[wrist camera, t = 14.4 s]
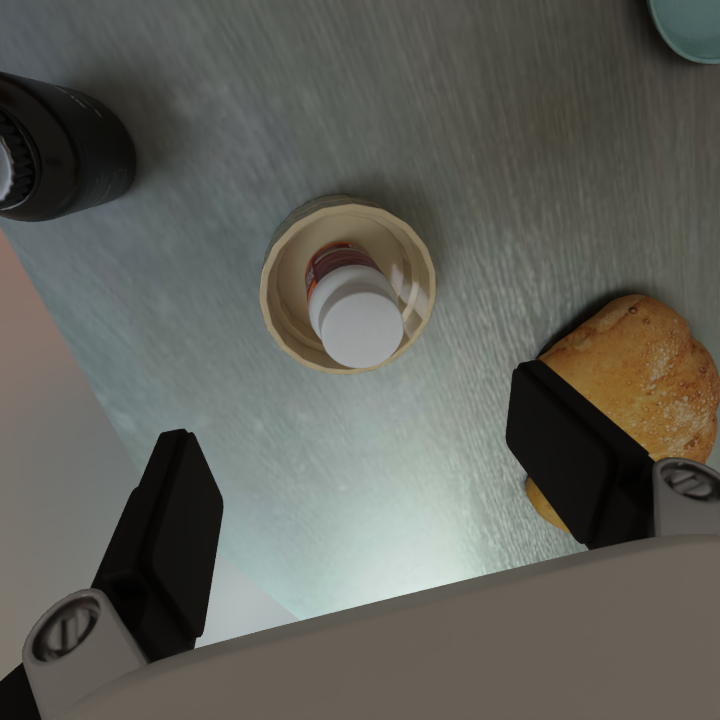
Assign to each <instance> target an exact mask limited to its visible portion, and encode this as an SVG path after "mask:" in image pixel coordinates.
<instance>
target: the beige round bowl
mask: <svg viewBox="0 0 720 720" xmlns="http://www.w3.org/2000/svg"><path fill="white" fill-rule="evenodd" d="M337 241H346V242H351V243H354V244H356V245H359V246H360V247H362V248H363V249H364V250H366V251H367V252H368V253H369V255H370V256H371V257H372V259H373V260H374V261H375V263H376V264H377V266H378V267H379V269H380V270H381V271H382V273H383V274H384V275H385V277H386V278H387V279H388V280H389V281H390V283H391V285H392V286H393V288H394V290H395V293H396V296H397V300H398V309H399V310H400V312H401V315H402V318H403V324H404V331H403V336H402V340H401V342H400V344H399V346H398V348H397V349H396V351H395V352H394V353H393V354H392V355H391V356H390V357H389V358H388V359H386V360H385V361H383V362H382V363H380V364H378V365H375V366H372V367H367V368H351V367H347V366H344V365H342V364H340V363H338V362H337V361H335V360H334V359H333V358H332V357H331V356H330V355H329V354H328V353H327V351H326V350H325V348H324V346H323V343H322V340H321V339H320V338H319V337H318V336H317V334H316V333H315V331H314V329H313V327H312V324H311V321H310V317H309V310H308V304H307V296H306V287H305V270H306V267H307V264H308V262H309V260H310V258H311V257H312V255H313V254H314V253H315V252H316V251H317V250H318V249H319V248H321V247H322V246H324V245H326V244H329V243H332V242H337ZM435 298H436V280H435V269H434V266H433V263H432V260H431V258H430V255H429V252H428V249H427V246H426V245H425V244H424V242H423V241H422V240H421V239H420V238H419V236H418V235H417V234H416V233H415V231H414V230H413V229H412V228H411V227H410V225H409V224H407V223H406V222H405V221H403V220H402V219H400V218H399V217H397V216H396V215H394V214H393V213H391V212H390V211H388V210H387V209H385V208H383V207H382V206H380V205H378V204H376V203H375V202H373V201H371V200H369V199H366V198H361V197H356V196H350V195H345V194H344V195H343V194H341V195H334V196H328V197H321V198H317V199H314V200H313V201H311V202H309V203H307V204H305V205H303V206H301V207H299V208H298V209H296V210H294V211H293V212H292V213H291V214H290V215H289V216H288V217H287V218H286V219H285V220H284V221H283V223H282V224H281V225H280V226H279V227H278V228H277V229H276V231H275V233H274V235H273V237H272V239H271V242H270V244H269V246H268V249H267V251H266V254H265V258H264V263H263V268H262V272H261V283H260V297H259V302H260V306H261V309H262V313H263V317H264V321H265V324H266V327H267V329H268V330H269V332H270V333H271V335H272V336H273V338H274V339H275V341H276V342H277V344H278V345H279V347H280V348H281V349H282V350H284V351H285V352H286V353H287V354H289V355H290V356H291V357H293V358H294V359H295V360H296V361H298V362H299V363H300V364H302V365H305V366H307V367H310V368H313V369H315V370H318V371H321V372H323V373H332V374H344V375H351V374H356V373H362V372H367V371H372V370H375V369H377V368H379V367H381V366H383V365H385V364H387V363H389V362H391V361H394V360H395V359H397V358H398V357H399V356H400V355H401V354H403V353H404V352H405V351H406V350H407V349H408V348H409V347H411V346H412V345H413V344H414V343H415V342H416V340H417V339H418V337H419V336H420V334H421V332H422V331H423V329H424V328H425V326H426V325H427V323H428V321H429V318H430V315H431V312H432V308H433V305H434V302H435Z"/></svg>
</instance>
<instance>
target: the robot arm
mask: <svg viewBox="0 0 720 720" xmlns="http://www.w3.org/2000/svg"><path fill="white" fill-rule="evenodd" d="M506 443H507V445H508V447H509V449H510V450H511V452H512V453H513V454H514V456H515V457H516V459H517V460H518V461H519V463H520V464H521V465H522V467H523V468H524V470H525V471H526V472H527V474H528V475H529V476H530V478H531V479H532V481H533V482H534V483H535V485H536V486H537V487H538V489H539V490H540V491H541V493H542V494H543V496H544V497H545V498H546V500H547V501H548V502H549V504H550V505H551V507H552V508H553V509H554V511H555V512H556V513H557V515H558V516H559V518H560V519H561V520H562V522H563V523H564V524H565V526H566V527H567V528H568V530H569V531H570V533H571V534H572V535H573V537H574V538H575V539H576V540H577V541H578V542H579V543H581V544H585V545H586V547H587V548H588V549H589V551H585V552H580V553H576V554H571V555H567V556H563V557H559V558H555V559H551V560H546V561H542V562H538V563H534V564H530V565H526V566H521V567H517V568H513V569H509V570H505V571H500V572H496V573H492V574H488V575H484V576H480V577H476V578H472V579H467V580H463V581H459V582H455V583H451V584H447V585H443V586H439V587H435V588H431V589H427V590H423V591H418V592H414V593H410V594H406V595H402V596H398V597H394V598H390V599H386V600H382V601H378V602H374V603H370V604H366V605H362V606H358V607H354V608H350V609H346V610H342V611H338V612H334V613H330V614H326V615H322V616H318V617H314V618H310V619H306V620H302V621H298V622H294V623H290V624H286V625H282V626H278V627H274V628H271V629H267V630H262V631H259V632H255V633H251V634H248V635H244V636H240V637H236V638H233V639H229V640H226V641H222V642H218V643H214V644H211V645H207V646H203V647H200V648H196V649H194V647H195V642H196V638H198V637H201V636H202V634H203V631H204V626H205V621H206V614H207V608H208V602H209V595H210V590H211V583H212V577H213V571H214V565H215V558H216V552H217V546H218V540H219V534H220V527H221V521H222V515H223V499H222V495H221V493H220V491H219V489H218V486H217V484H216V482H215V480H214V477H213V475H212V473H211V471H210V468H209V466H208V464H207V461H206V459H205V457H204V455H203V452H202V450H201V448H200V446H199V443H198V441H197V439H196V436H195V435H194V433H193V432H190V433H188V432H187V431H186V430H185V429H178V430H172V431H167V432H163V433H161V434H160V436H159V438H158V440H157V443H156V445H155V447H154V450H153V452H152V455H151V457H150V459H149V462H148V464H147V467H146V469H145V471H144V474H143V476H142V479H141V481H140V483H139V486H138V487H136V488H135V489H134V490H133V491H132V493H131V495H130V497H129V499H128V501H127V504H126V506H125V508H124V511H123V513H122V515H121V518H120V520H119V522H118V525H117V527H116V529H115V531H114V534H113V536H112V538H111V541H110V543H109V545H108V548H107V550H106V553H105V555H104V557H103V560H102V562H101V564H100V566H99V569H98V571H97V574H96V576H95V578H94V581H93V583H92V585H91V588H90V589H83V590H79V591H77V592H74V593H72V594H70V595H68V596H66V597H65V598H63V599H61V600H60V601H58V602H57V603H55V604H54V605H53V606H52V607H51V608H50V609H49V610H47V611H46V612H45V613H44V614H43V615H42V616H41V618H40V619H39V620H38V621H37V623H36V624H35V625H34V626H33V628H32V630H31V631H30V633H29V635H28V636H27V638H26V640H25V644H24V647H23V650H22V660H23V662H22V663H21V664H20V665H19V666H18V667H16V668H15V669H14V670H13V671H12V672H11V673H9V674H8V675H7V676H6V677H5V678H4V679H3V680H2V681H0V720H720V473H718V472H717V471H715V470H714V469H712V468H710V467H708V466H706V465H704V464H702V463H700V462H697V461H694V460H691V459H687V458H680V457H666V458H663V459H659V460H658V461H657V462H655V461H654V460H653V459H652V458H651V457H650V456H648V455H649V452H648V451H647V450H646V449H645V448H644V447H642V446H641V445H640V444H639V443H638V442H637V441H635V440H634V439H633V438H632V437H631V436H630V435H628V434H627V433H626V432H625V431H624V430H623V429H621V428H620V427H619V426H618V425H617V424H616V423H614V422H613V421H612V420H611V419H610V418H608V417H607V416H606V415H605V414H604V413H603V412H601V411H600V410H599V409H598V408H597V407H596V406H594V405H593V404H592V403H591V402H590V401H589V400H587V399H586V398H585V397H584V396H583V395H582V394H580V393H579V392H578V391H577V390H576V389H575V388H573V387H572V386H571V385H570V384H569V383H568V382H566V381H565V380H564V379H563V378H562V377H561V376H559V375H558V374H557V373H556V372H555V371H554V370H552V369H551V368H550V367H549V366H548V365H547V364H545V363H544V362H543V361H541V360H533V361H528V362H523V363H520V364H519V365H518V367H517V369H514V371H513V374H512V383H511V392H510V401H509V410H508V418H507V427H506Z"/></svg>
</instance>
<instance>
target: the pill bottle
mask: <svg viewBox="0 0 720 720" xmlns="http://www.w3.org/2000/svg"><path fill="white" fill-rule="evenodd" d="M305 287H306V296H307V304H308V310H309V317H310V321H311V324H312V327H313V329H314V331H315V333H316V334H317V336H318V337H319V338H320V339H321V340H322V343H323V346H324V348H325V350H326V351H327V353H328V354H329V355H330V356H331V357H332V358H333V359H334V360H335V361H337V362H338V363H340V364H342V365H344V366H347V367H351V368H367V367H372V366H375V365H378V364H380V363H382V362H383V361H385V360H386V359H388V358H389V357H390V356H391V355H392V354H393V353H394V352H395V351H396V349H397V348H398V346H399V344H400V342H401V340H402V336H403V331H404V324H403V318H402V315H401V312H400V310H399V309H398V300H397V296H396V293H395V290H394V288H393V286H392V285H391V283H390V281H389V280H388V279H387V278H386V277H385V275H384V274H383V273H382V271H381V270H380V269H379V267H378V266H377V264H376V263H375V261H374V260H373V259H372V257H371V256H370V255H369V253H368V252H367V251H366V250H364V249H363V248H362V247H360V246H359V245H356V244H354V243H351V242H346V241H337V242H332V243H329V244H326V245H324V246H322V247H321V248H319V249H318V250H317V251H316V252H315V253H314V254H313V255H312V257H311V258H310V260H309V262H308V264H307V267H306V270H305Z"/></svg>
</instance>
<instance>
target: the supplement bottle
mask: <svg viewBox="0 0 720 720" xmlns="http://www.w3.org/2000/svg"><path fill="white" fill-rule="evenodd" d="M135 172H136V154H135V149H134V146H133V143H132V140H131V138H130V136H129V134H128V132H127V130H126V129H125V127H124V125H123V124H122V123H121V121H120V120H119V119H118V118H117V116H116V115H115V114H114V113H113V112H112V111H111V110H110V109H109V108H107V107H106V106H105V105H104V104H102V103H101V102H100V101H98V100H96V99H95V98H93V97H91V96H89V95H87V94H85V93H82V92H79V91H77V90H73V89H70V88H66V87H62V86H58V85H54V84H50V83H45V82H41V81H37V80H33V79H29V78H25V77H21V76H17V75H13V74H9V73H5V72H1V71H0V216H2V217H5V218H9V219H13V220H18V221H25V222H40V221H47V220H52V219H56V218H59V217H62V216H65V215H69V214H72V213H75V212H78V211H82V210H85V209H88V208H91V207H95V206H98V205H101V204H104V203H107V202H110V201H113V200H115V199H117V198H118V197H120V196H121V195H123V194H124V193H125V192H126V191H127V190H128V189H129V187H130V186H131V184H132V182H133V179H134V176H135Z"/></svg>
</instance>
